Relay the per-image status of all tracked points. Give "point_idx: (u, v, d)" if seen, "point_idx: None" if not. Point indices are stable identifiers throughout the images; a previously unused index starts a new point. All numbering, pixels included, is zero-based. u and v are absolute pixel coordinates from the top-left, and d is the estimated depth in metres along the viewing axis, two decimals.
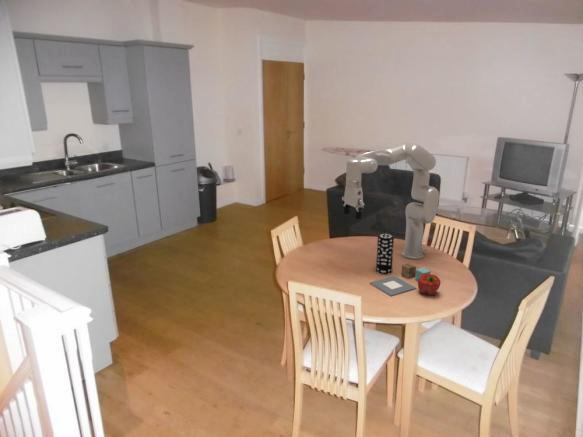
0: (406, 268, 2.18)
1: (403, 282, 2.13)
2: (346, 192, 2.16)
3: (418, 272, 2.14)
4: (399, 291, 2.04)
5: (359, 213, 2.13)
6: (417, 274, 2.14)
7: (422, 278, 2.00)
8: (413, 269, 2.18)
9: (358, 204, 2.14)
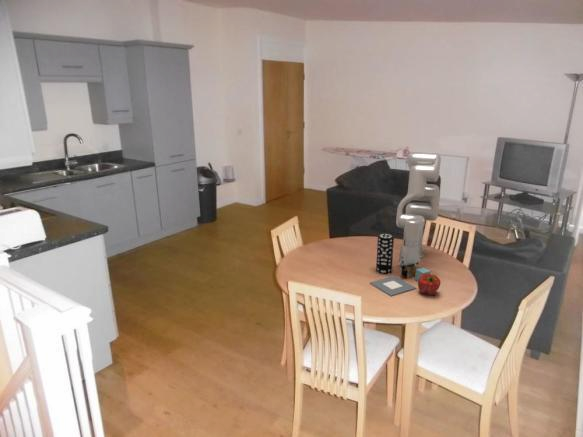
0: None
1: (403, 282, 2.13)
2: (409, 253, 2.14)
3: (418, 272, 2.14)
4: (399, 291, 2.04)
5: None
6: (417, 274, 2.14)
7: (422, 278, 2.00)
8: (413, 269, 2.18)
9: None
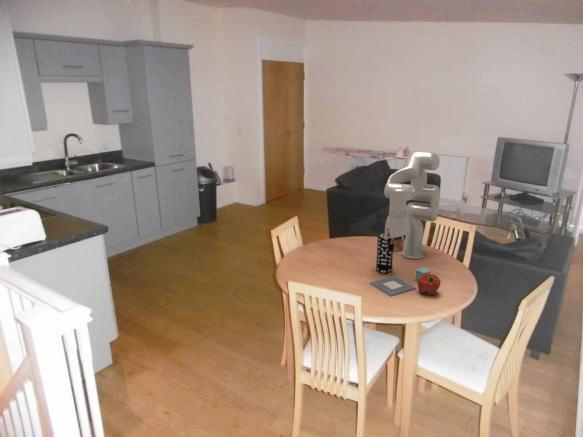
0: None
1: (403, 282, 2.13)
2: (396, 225, 1.98)
3: (418, 272, 2.14)
4: (399, 291, 2.04)
5: None
6: (417, 274, 2.14)
7: (422, 278, 2.00)
8: (400, 242, 2.02)
9: None
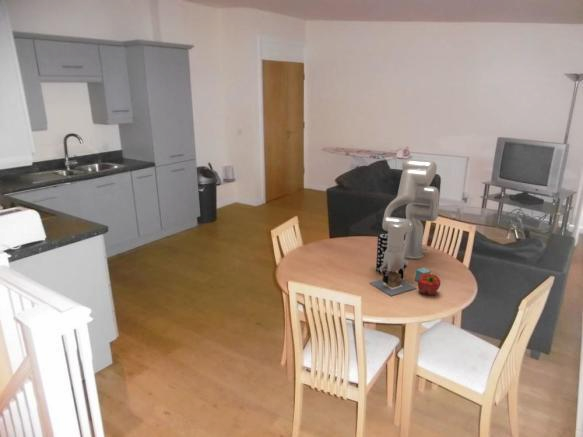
0: (390, 276, 2.07)
1: (403, 282, 2.13)
2: (393, 259, 2.03)
3: (418, 272, 2.14)
4: (399, 291, 2.04)
5: None
6: (417, 274, 2.14)
7: (422, 278, 2.00)
8: (398, 277, 2.07)
9: None
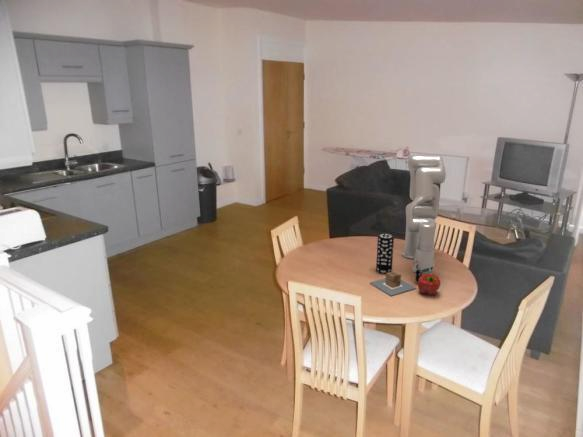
0: (390, 276, 2.07)
1: (403, 282, 2.13)
2: (424, 258, 2.08)
3: None
4: (399, 291, 2.04)
5: None
6: None
7: (422, 278, 2.00)
8: (398, 277, 2.07)
9: None
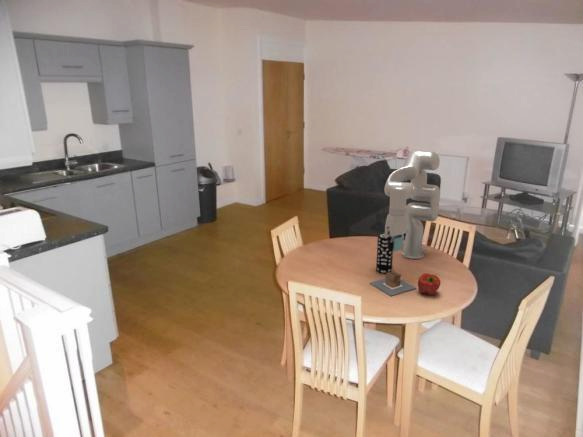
0: (390, 276, 2.07)
1: (403, 282, 2.13)
2: (396, 223, 1.97)
3: None
4: (399, 291, 2.04)
5: None
6: None
7: (422, 278, 2.00)
8: (398, 277, 2.07)
9: None
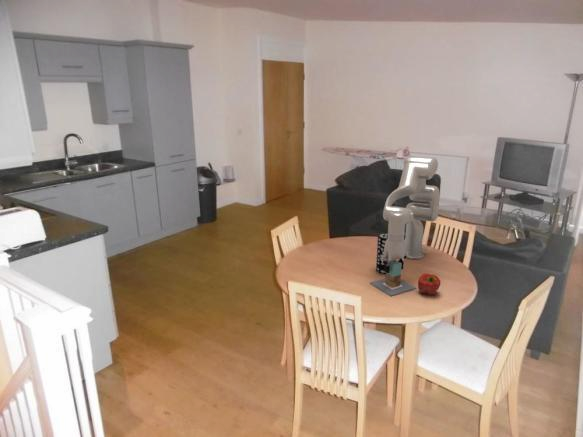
0: (390, 276, 2.07)
1: (403, 282, 2.13)
2: (394, 248, 2.01)
3: (389, 264, 2.06)
4: (399, 291, 2.04)
5: None
6: None
7: (422, 278, 2.00)
8: (398, 277, 2.07)
9: None
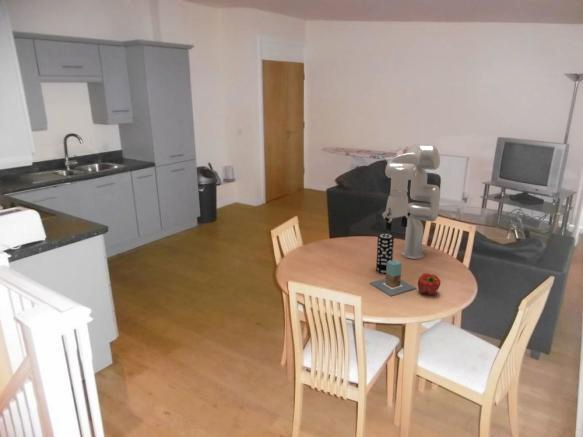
0: (390, 276, 2.07)
1: (403, 282, 2.13)
2: (397, 204, 1.95)
3: (389, 264, 2.06)
4: (399, 291, 2.04)
5: None
6: (388, 266, 2.07)
7: (422, 278, 2.00)
8: (398, 277, 2.07)
9: None
